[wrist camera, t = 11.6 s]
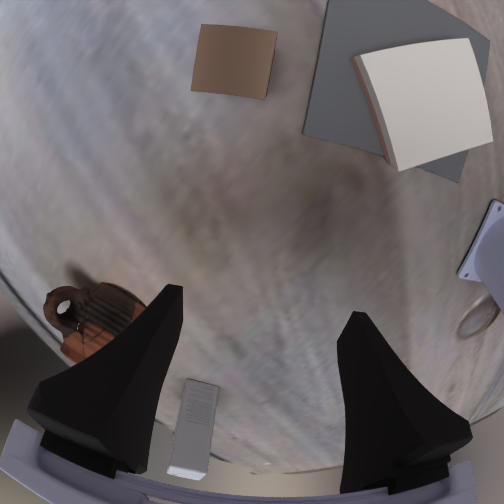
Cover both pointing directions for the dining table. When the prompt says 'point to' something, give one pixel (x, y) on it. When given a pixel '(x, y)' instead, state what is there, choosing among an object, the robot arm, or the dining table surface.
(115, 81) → the dining table surface
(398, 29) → the mat
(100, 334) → the pottery mug
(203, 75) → the walnut block
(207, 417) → the skincare box
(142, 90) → the dining table surface
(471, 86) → the whetstone
